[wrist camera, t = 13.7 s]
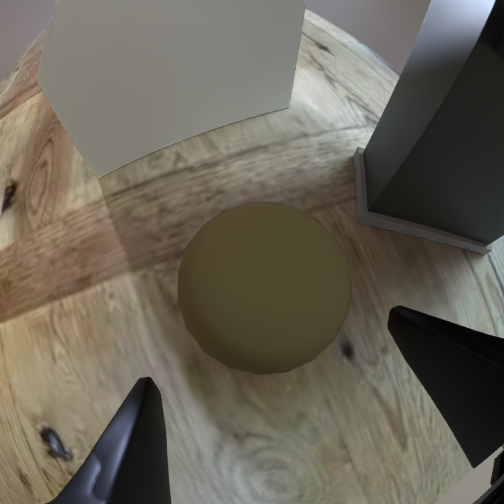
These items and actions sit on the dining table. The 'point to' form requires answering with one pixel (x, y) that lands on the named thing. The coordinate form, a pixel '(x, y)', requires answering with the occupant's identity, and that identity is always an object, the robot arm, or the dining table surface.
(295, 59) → the white house shaped block
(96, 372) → the dining table surface
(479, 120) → the coffee maker
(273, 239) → the cork
